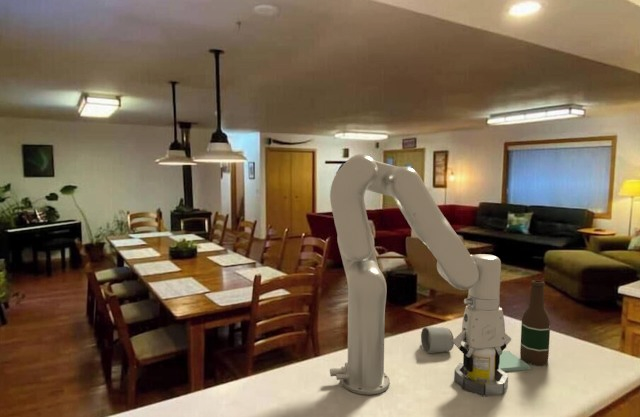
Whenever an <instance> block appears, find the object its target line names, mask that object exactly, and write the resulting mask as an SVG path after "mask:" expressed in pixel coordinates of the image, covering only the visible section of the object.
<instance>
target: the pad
mask: <svg viewBox="0 0 640 417" xmlns="http://www.w3.org/2000/svg"><path fill="white" fill-rule="evenodd" d="M499 368H500V369H501V370H502V371H503V372H514V371H516V372H517V371H528V370H530V369H531V365H530V364H528V363H526V362H525V361H523V360H522V359H521V358H519V357H518V356H517V355H515V354H514V353H512V352H511V351H510V350H503V351H502V354H501V355H500V364H499Z"/></svg>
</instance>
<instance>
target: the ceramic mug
mask: <svg viewBox="0 0 640 417" xmlns="http://www.w3.org/2000/svg"><path fill="white" fill-rule="evenodd" d="M454 339H455V338H454V335H453V332H452V330H450V329H449V328H448V327H443V326H442V327H438V326H437V327H436V326H435V327H434V326H424V327H423V328H422V330H421V333H420V342H421V346H422V347H421V348H422V349H423V351H424V352H425V353H427V354H431V353H445V352H446V353H447V352H450V351H451V350H453V348H454V347H455V346H454V345H455V344H454V343H453V340H454Z"/></svg>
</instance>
